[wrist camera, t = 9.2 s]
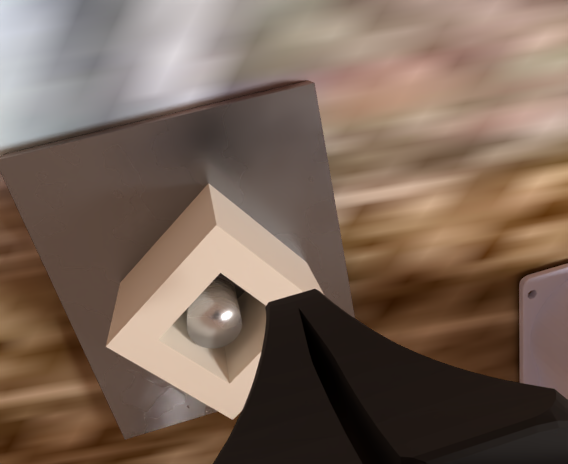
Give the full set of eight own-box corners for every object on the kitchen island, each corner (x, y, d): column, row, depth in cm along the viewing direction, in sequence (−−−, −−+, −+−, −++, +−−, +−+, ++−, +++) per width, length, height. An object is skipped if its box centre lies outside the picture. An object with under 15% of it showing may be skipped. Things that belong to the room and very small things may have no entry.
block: (306, 262, 22) (336, 316, 18) (222, 348, 23) (232, 420, 19) (208, 183, 20) (216, 224, 16) (120, 282, 21) (105, 346, 16)
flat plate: (356, 355, 26) (390, 417, 22) (126, 424, 25) (116, 503, 20) (308, 80, 20) (341, 94, 16) (4, 154, 19) (-45, 189, 15)
